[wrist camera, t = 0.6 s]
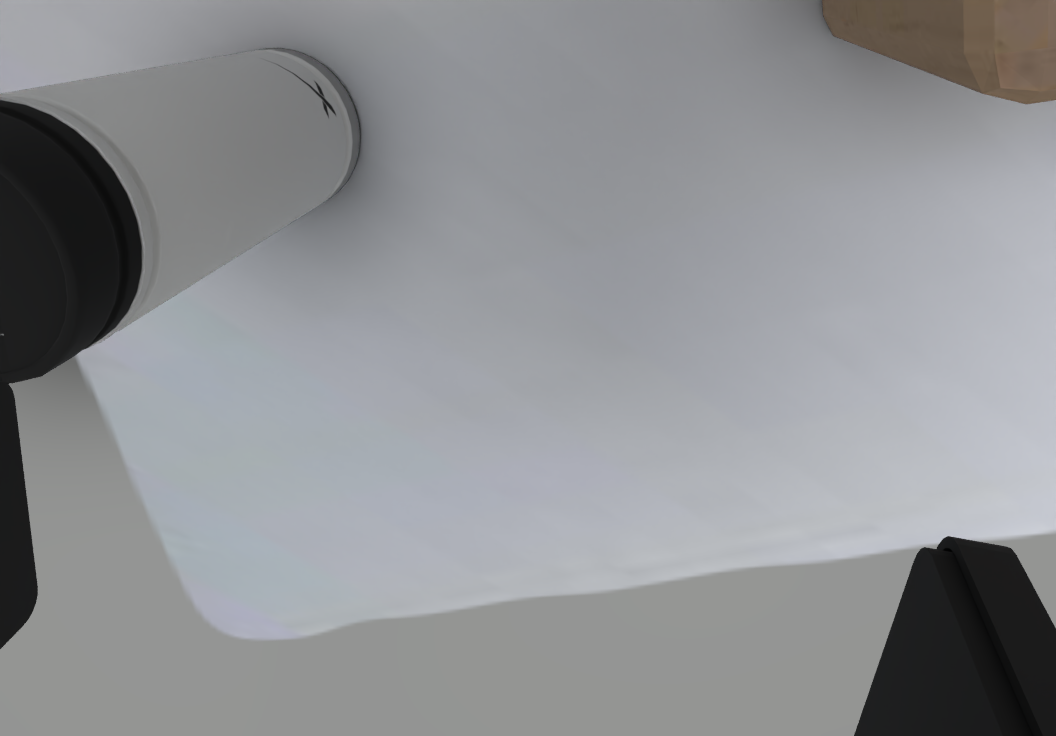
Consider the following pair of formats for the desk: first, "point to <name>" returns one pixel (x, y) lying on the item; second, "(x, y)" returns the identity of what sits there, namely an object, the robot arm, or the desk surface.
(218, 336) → the desk surface
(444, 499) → the desk surface
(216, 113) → the travel mug
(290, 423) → the desk surface
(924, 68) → the block
